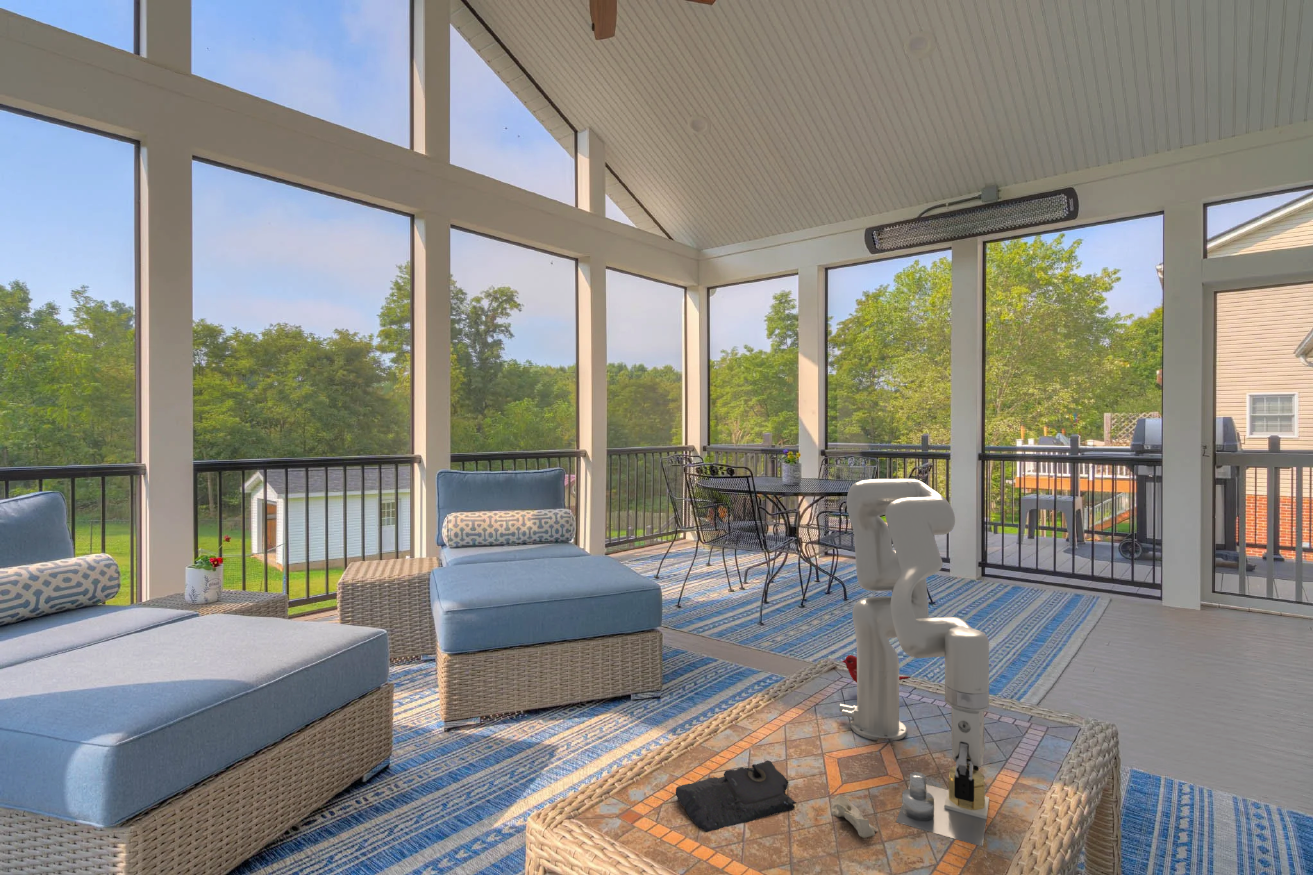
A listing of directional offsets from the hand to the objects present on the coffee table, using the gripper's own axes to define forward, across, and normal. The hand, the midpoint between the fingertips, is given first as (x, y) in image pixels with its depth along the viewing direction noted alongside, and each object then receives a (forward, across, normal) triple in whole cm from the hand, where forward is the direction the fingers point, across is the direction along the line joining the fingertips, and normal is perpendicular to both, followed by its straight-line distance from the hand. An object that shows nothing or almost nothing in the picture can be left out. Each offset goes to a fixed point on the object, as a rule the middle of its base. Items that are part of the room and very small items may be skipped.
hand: (966, 786), depth 122 cm
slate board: (+4, -4, +4) cm, 7 cm away
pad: (+3, 0, 0) cm, 3 cm away
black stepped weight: (+5, -19, +39) cm, 44 cm away
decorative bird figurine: (+4, +46, +26) cm, 54 cm away
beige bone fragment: (+5, -16, +17) cm, 24 cm away
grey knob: (+3, -8, +8) cm, 11 cm away
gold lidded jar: (+3, 0, 0) cm, 3 cm away
